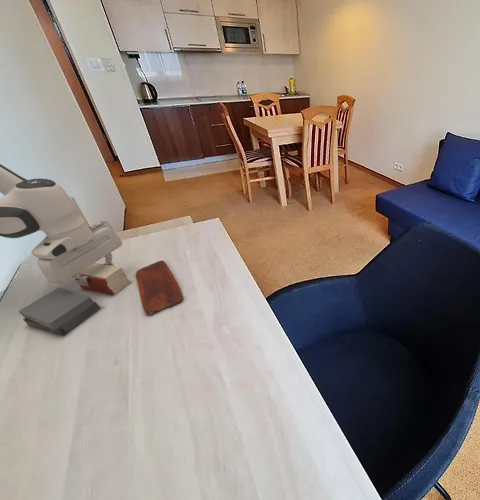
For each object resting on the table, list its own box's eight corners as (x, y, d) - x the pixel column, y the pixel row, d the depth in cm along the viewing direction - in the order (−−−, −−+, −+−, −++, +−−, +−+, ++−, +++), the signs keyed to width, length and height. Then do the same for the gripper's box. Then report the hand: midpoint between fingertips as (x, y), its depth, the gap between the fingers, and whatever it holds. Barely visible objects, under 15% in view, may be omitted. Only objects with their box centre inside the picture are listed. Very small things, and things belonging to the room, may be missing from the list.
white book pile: (81, 289, 93) (73, 279, 91) (101, 276, 99) (94, 266, 96) (112, 296, 90) (105, 286, 87) (131, 282, 95) (125, 272, 93)
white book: (74, 279, 91) (70, 273, 90) (94, 267, 96) (90, 261, 95) (106, 285, 88) (102, 279, 87) (124, 272, 93) (121, 267, 91)
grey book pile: (26, 326, 82) (13, 313, 79) (67, 299, 90) (57, 286, 87) (63, 337, 78) (51, 324, 75) (103, 307, 86) (93, 294, 83)
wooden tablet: (185, 301, 86) (183, 296, 85) (146, 318, 81) (144, 314, 80) (167, 259, 104) (165, 255, 103) (134, 272, 99) (132, 268, 98)
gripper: (99, 217, 93) (121, 253, 101) (23, 255, 77) (57, 295, 85) (114, 219, 91) (135, 256, 99) (40, 258, 75) (72, 299, 83)
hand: (99, 274), depth 92 cm, fingers closed on white book, 6 cm apart
